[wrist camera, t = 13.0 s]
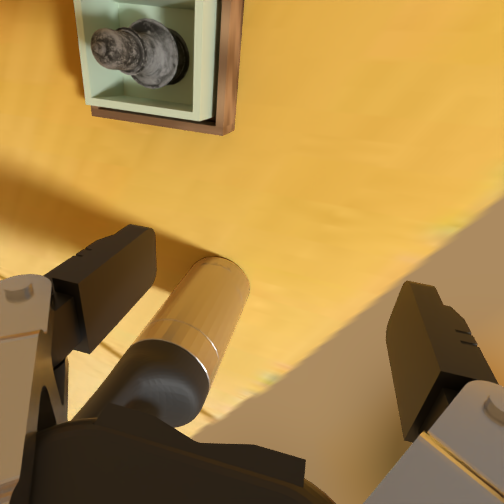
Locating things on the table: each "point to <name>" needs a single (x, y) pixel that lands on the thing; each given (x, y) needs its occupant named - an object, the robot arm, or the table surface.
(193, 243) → the table surface
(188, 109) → the green crate
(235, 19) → the box
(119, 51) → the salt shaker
